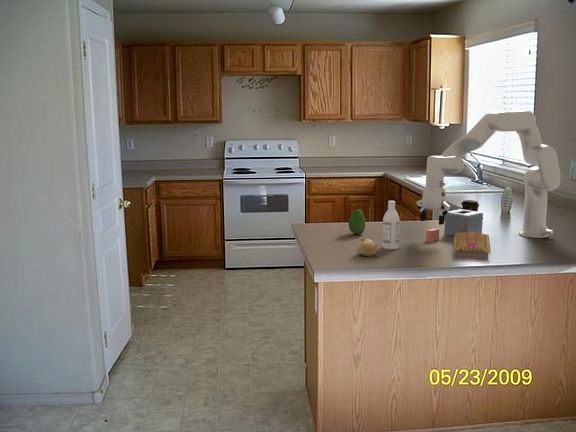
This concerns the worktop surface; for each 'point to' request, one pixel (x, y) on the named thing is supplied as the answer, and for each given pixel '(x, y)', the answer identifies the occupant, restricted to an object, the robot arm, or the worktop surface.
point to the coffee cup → (470, 205)
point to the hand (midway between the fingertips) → (432, 222)
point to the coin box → (463, 222)
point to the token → (432, 235)
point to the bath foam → (391, 227)
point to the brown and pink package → (471, 246)
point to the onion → (366, 247)
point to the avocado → (357, 222)
